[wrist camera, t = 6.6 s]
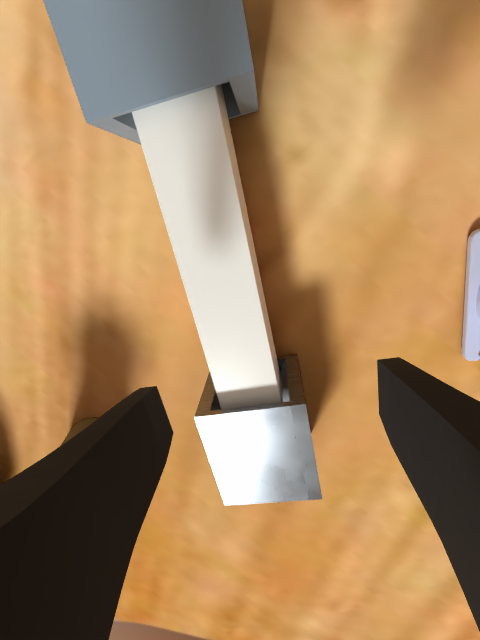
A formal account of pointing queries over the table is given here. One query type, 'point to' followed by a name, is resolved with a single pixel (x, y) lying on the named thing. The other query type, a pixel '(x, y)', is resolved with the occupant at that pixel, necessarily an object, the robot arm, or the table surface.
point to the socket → (152, 55)
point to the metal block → (261, 444)
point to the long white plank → (212, 241)
